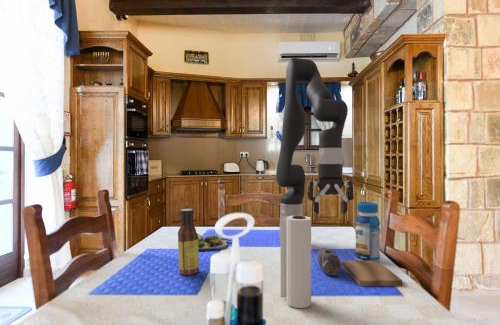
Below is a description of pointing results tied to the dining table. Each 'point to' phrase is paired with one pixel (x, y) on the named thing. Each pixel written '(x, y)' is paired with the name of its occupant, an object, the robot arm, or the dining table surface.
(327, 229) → the dining table surface
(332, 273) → the perforated stone tool
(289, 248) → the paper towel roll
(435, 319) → the dining table surface
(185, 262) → the sauce bottle
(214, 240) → the salad plate
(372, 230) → the beverage bottle
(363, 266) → the walnut board
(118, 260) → the dining table surface
